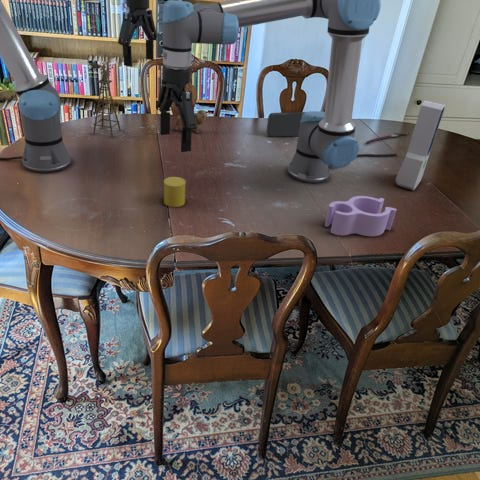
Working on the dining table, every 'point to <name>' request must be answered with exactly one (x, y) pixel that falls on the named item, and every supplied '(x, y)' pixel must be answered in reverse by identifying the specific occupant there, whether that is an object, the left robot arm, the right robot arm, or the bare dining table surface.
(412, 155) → the electronic device
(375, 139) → the sword
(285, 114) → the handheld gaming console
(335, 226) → the clip
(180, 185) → the tin
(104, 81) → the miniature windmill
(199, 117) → the lion figurine
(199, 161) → the dining table surface
